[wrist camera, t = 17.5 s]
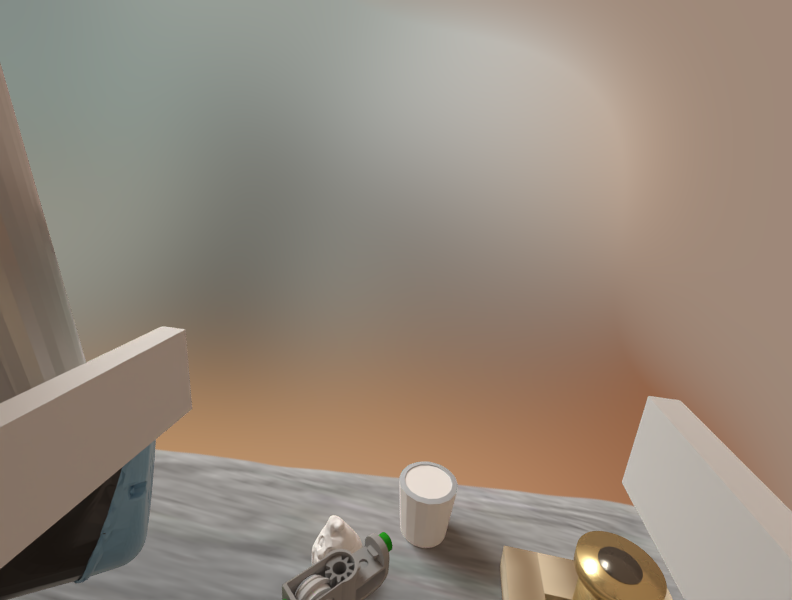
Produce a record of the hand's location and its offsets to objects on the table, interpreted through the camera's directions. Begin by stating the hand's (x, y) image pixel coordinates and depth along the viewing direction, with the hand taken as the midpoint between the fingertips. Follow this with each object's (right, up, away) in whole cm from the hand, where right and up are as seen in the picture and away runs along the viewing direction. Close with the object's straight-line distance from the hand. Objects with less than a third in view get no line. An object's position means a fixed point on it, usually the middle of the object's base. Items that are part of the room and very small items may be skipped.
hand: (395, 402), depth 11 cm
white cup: (+3, -25, +37) cm, 45 cm away
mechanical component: (-5, -28, +24) cm, 37 cm away
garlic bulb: (-6, -26, +32) cm, 41 cm away
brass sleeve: (+17, -30, +24) cm, 42 cm away
